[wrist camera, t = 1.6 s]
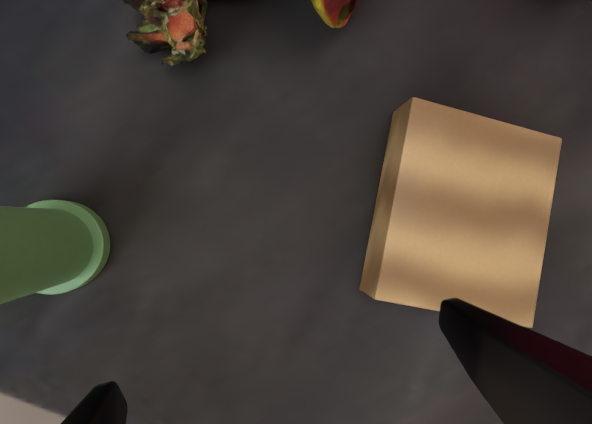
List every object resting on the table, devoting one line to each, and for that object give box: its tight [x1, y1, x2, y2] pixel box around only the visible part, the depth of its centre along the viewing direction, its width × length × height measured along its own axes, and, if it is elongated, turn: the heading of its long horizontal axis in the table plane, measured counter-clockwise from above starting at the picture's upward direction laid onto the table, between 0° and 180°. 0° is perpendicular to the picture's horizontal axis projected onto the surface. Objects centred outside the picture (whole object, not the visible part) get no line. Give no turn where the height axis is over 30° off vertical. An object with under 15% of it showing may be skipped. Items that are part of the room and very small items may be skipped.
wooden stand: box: [360, 97, 562, 328], centre depth 22 cm, size 14×12×3 cm
